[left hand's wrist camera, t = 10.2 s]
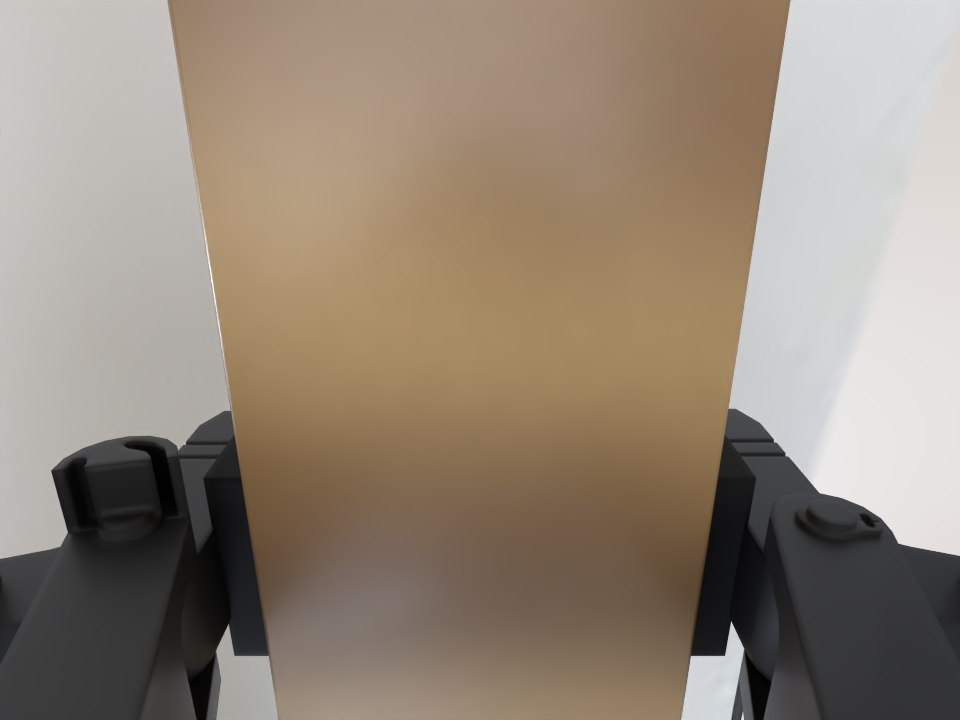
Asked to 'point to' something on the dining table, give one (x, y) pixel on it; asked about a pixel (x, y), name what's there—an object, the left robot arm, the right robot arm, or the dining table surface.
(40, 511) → the dining table surface
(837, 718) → the left robot arm
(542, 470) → the beam
